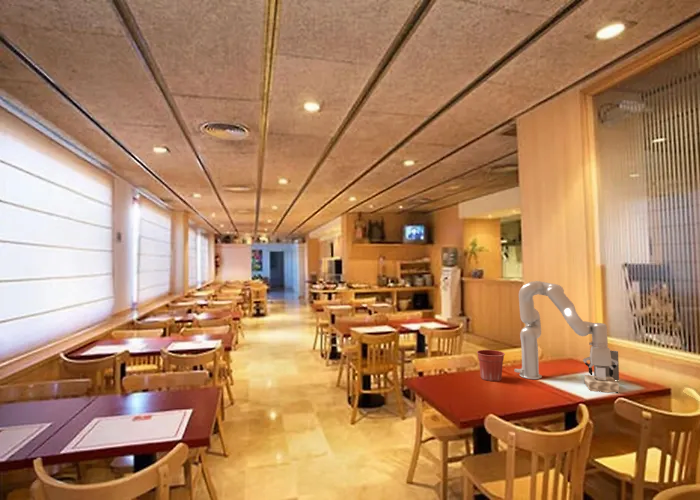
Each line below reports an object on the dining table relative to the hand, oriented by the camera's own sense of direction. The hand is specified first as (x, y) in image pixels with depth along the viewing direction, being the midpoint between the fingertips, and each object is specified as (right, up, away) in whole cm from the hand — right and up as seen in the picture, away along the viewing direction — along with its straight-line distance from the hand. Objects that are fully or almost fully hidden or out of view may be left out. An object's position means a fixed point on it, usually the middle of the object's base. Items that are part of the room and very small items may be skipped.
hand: (600, 375), depth 225 cm
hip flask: (+12, -8, +13) cm, 20 cm away
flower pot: (-55, -9, +21) cm, 59 cm away
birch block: (0, -7, 0) cm, 7 cm away
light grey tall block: (0, -6, 0) cm, 6 cm away
